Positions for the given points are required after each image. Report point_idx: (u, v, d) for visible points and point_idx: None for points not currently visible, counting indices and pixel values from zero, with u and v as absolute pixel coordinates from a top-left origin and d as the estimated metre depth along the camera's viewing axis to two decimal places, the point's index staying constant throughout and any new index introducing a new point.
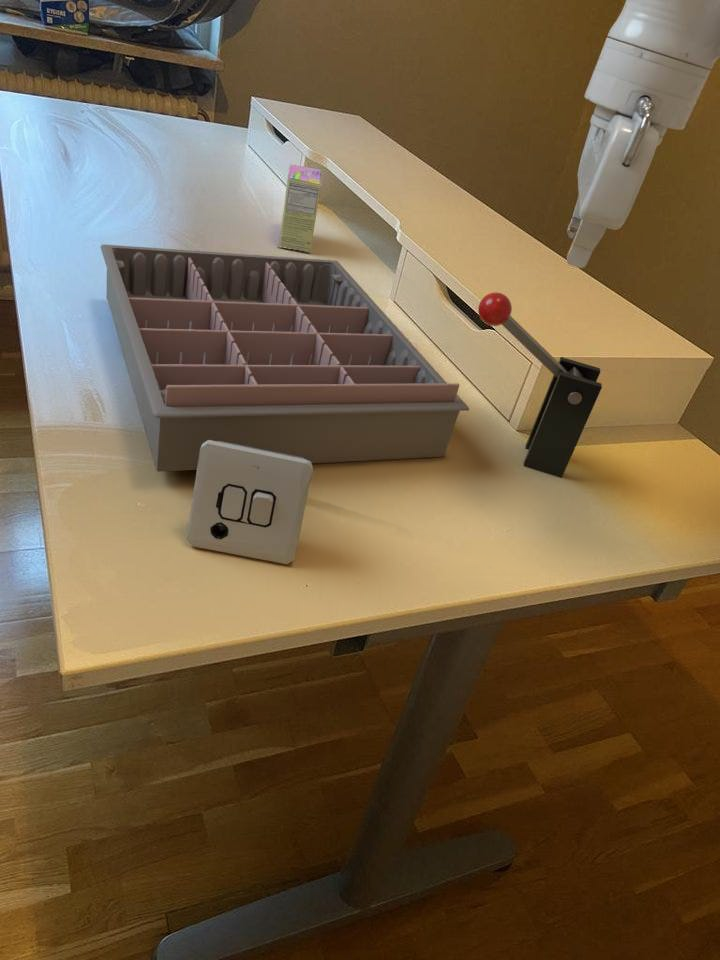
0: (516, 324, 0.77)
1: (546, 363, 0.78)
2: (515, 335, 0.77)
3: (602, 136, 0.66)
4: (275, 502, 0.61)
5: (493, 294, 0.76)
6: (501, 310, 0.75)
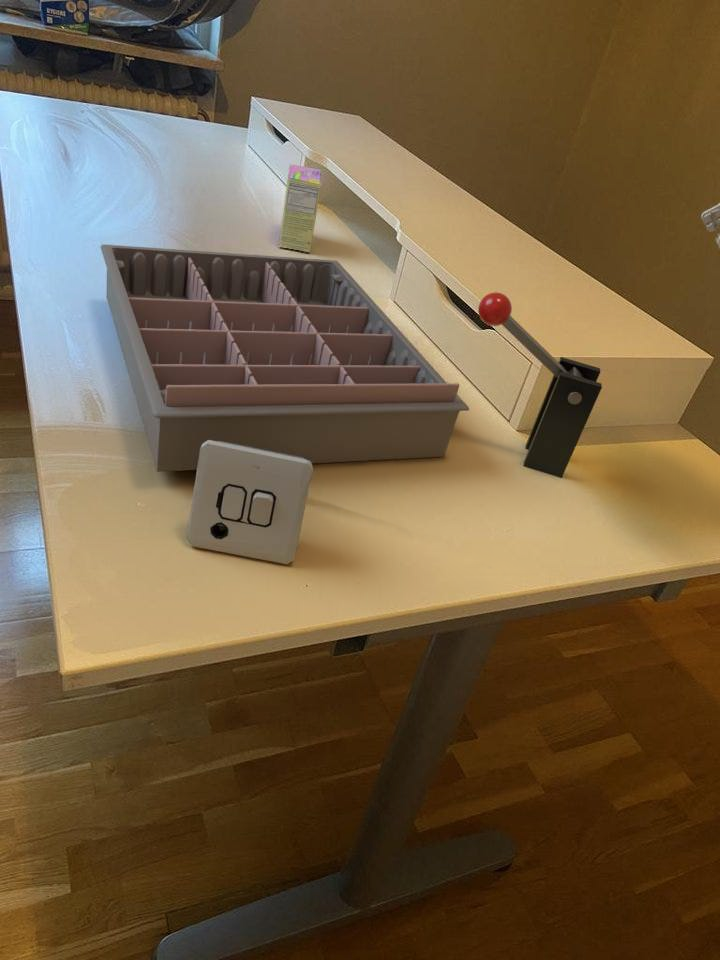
0: (516, 324, 0.77)
1: (546, 363, 0.78)
2: (515, 335, 0.77)
3: None
4: (275, 502, 0.61)
5: (493, 294, 0.76)
6: (501, 310, 0.75)
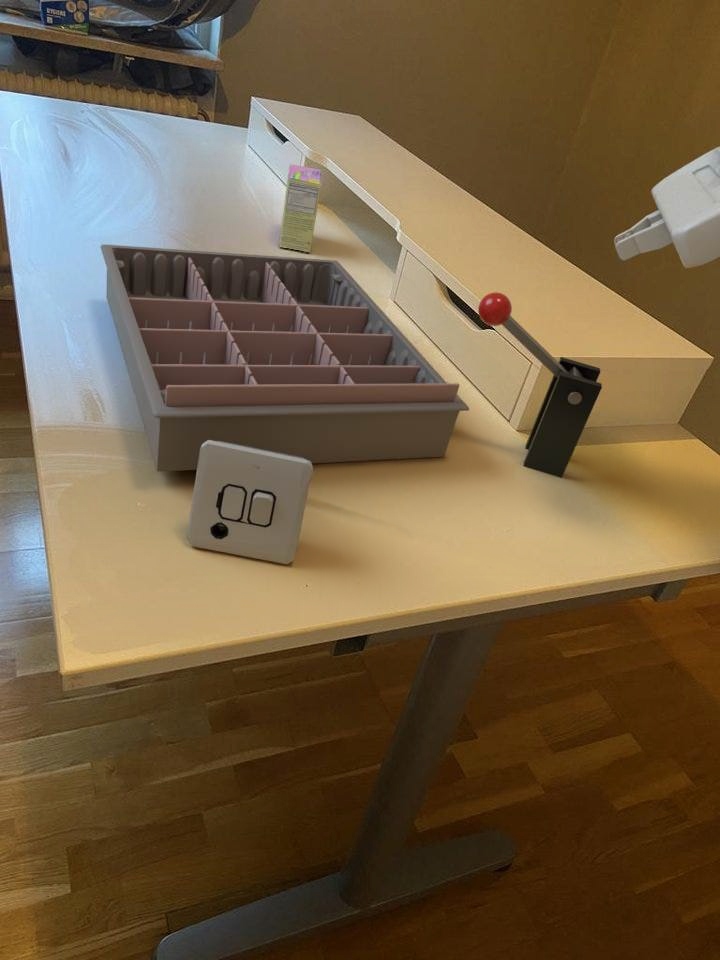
0: (516, 324, 0.77)
1: (546, 363, 0.78)
2: (515, 335, 0.77)
3: (713, 179, 0.67)
4: (275, 502, 0.61)
5: (493, 294, 0.76)
6: (501, 310, 0.75)
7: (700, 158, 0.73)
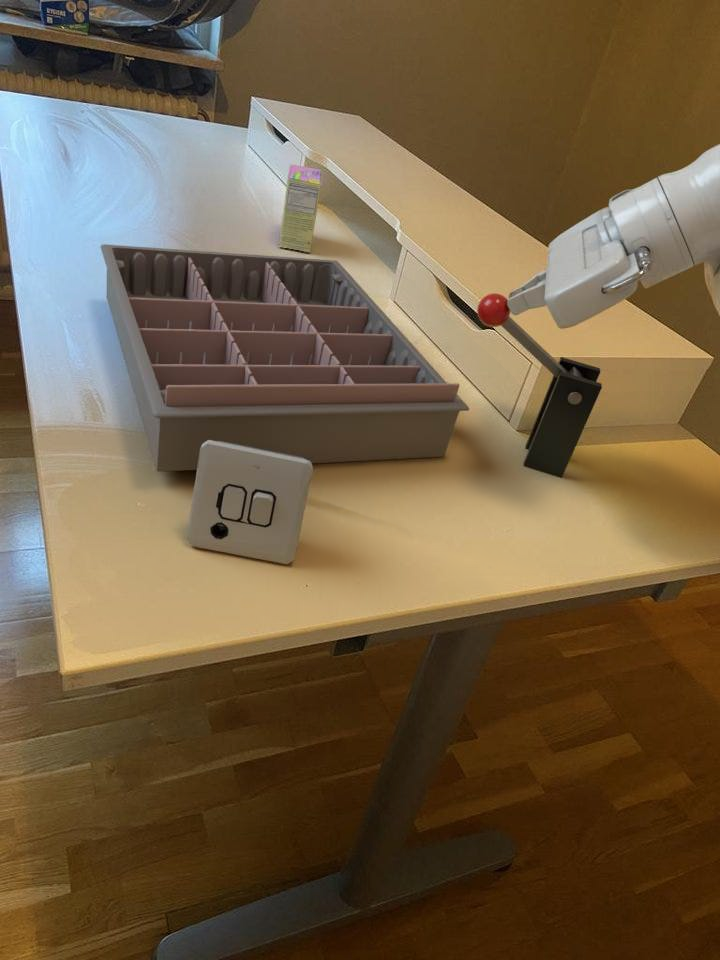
0: (515, 325, 0.77)
1: (546, 363, 0.78)
2: (514, 336, 0.77)
3: (594, 241, 0.72)
4: (275, 502, 0.61)
5: (492, 295, 0.76)
6: (500, 311, 0.75)
7: (590, 217, 0.78)
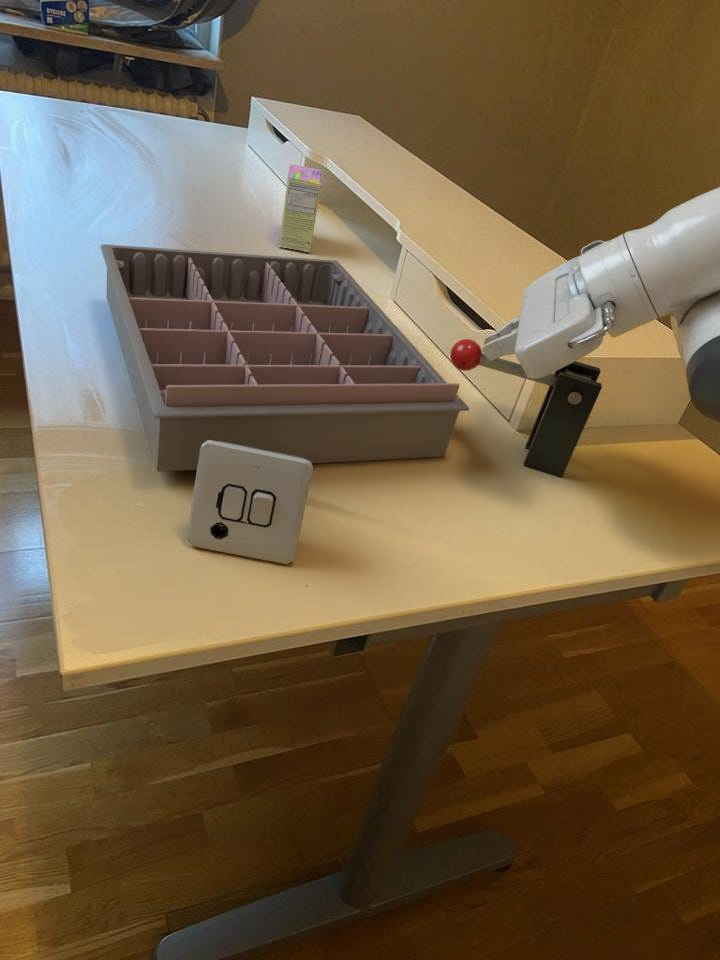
0: None
1: None
2: (495, 368, 0.79)
3: (565, 292, 0.75)
4: (275, 502, 0.61)
5: (457, 343, 0.79)
6: (469, 354, 0.78)
7: (563, 265, 0.81)
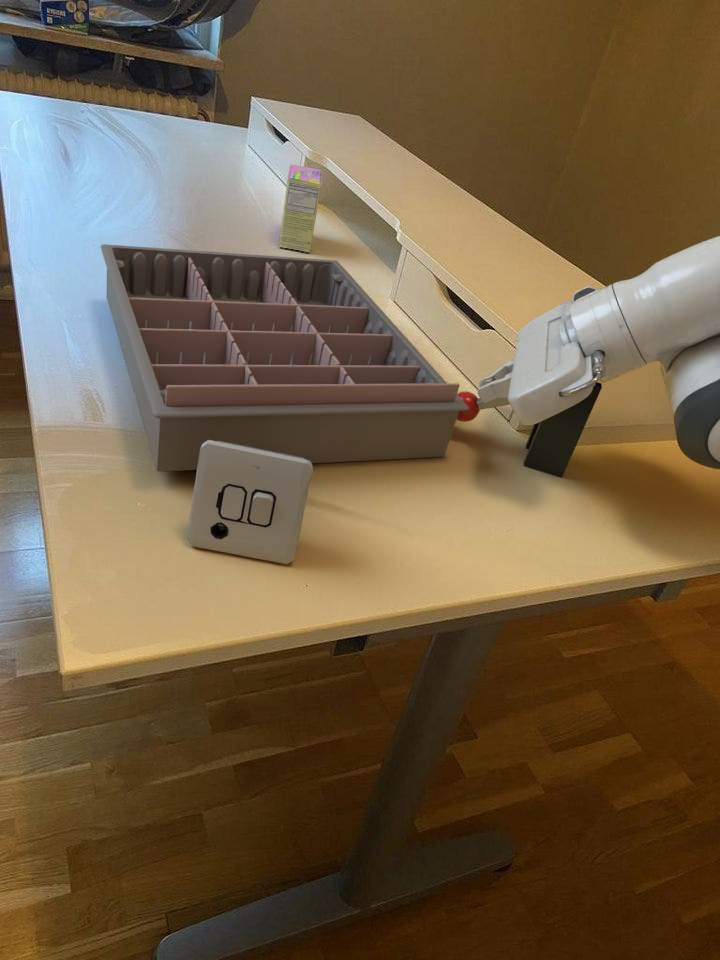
0: None
1: None
2: (495, 405, 0.82)
3: (557, 337, 0.78)
4: (275, 502, 0.61)
5: None
6: None
7: (556, 309, 0.83)
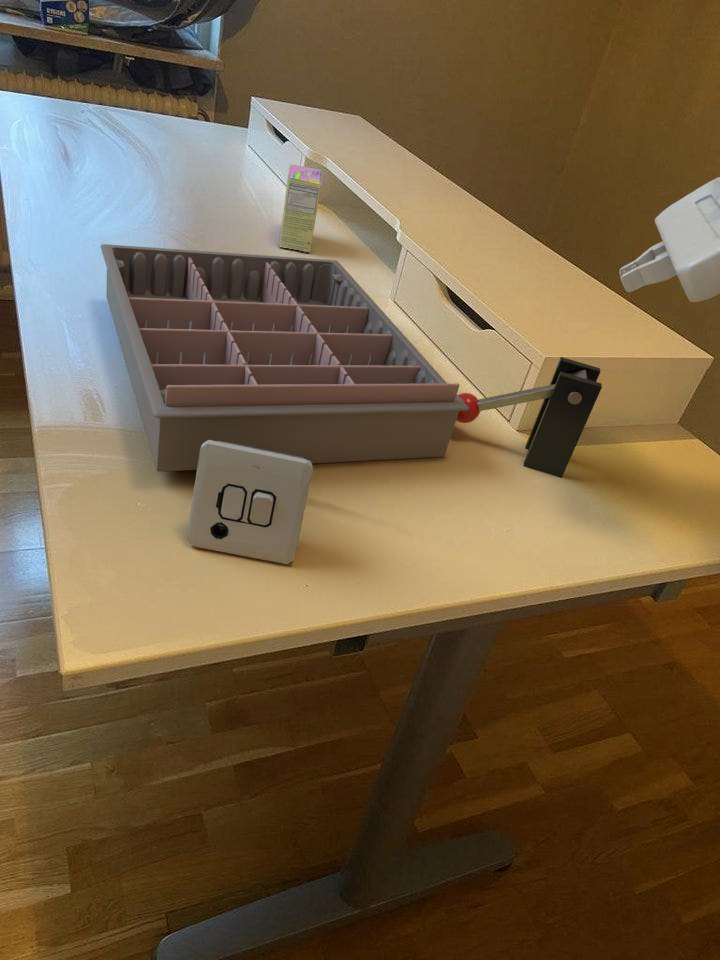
0: (487, 400, 0.82)
1: (535, 397, 0.80)
2: (495, 406, 0.82)
3: (715, 211, 0.68)
4: (275, 502, 0.61)
5: None
6: None
7: (702, 188, 0.74)
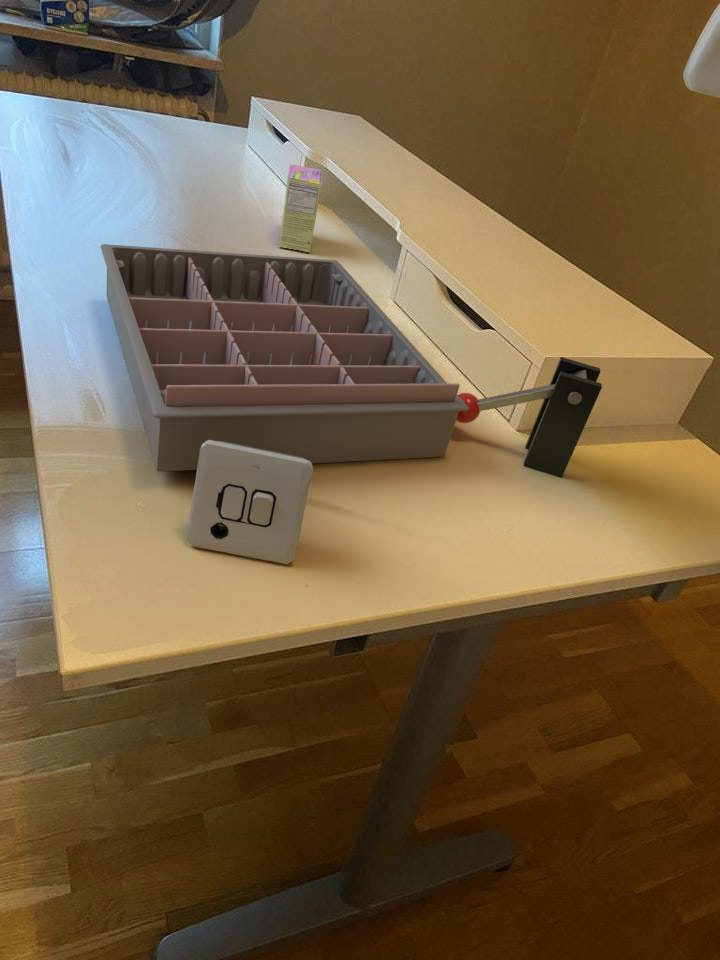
0: (487, 400, 0.82)
1: (535, 397, 0.80)
2: (495, 406, 0.82)
3: None
4: (275, 502, 0.61)
5: None
6: None
7: None
